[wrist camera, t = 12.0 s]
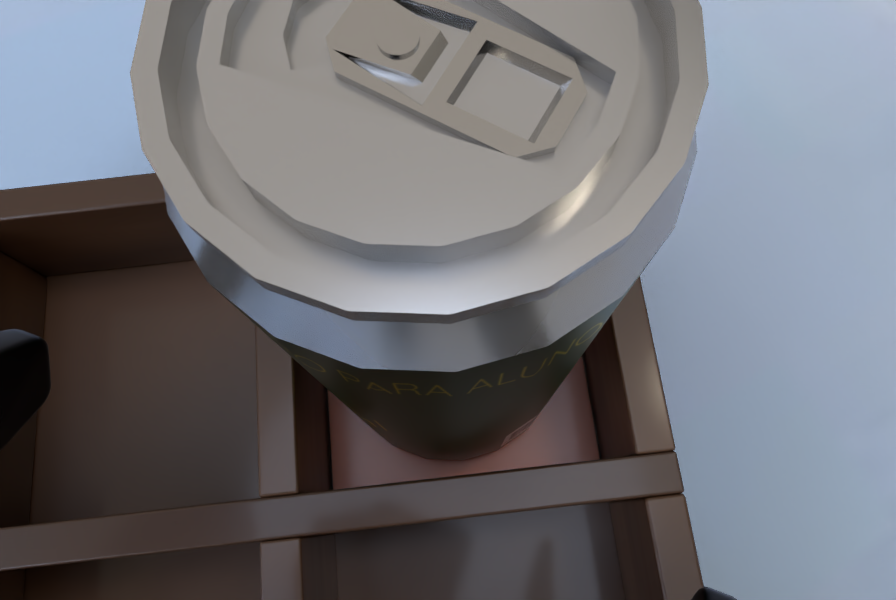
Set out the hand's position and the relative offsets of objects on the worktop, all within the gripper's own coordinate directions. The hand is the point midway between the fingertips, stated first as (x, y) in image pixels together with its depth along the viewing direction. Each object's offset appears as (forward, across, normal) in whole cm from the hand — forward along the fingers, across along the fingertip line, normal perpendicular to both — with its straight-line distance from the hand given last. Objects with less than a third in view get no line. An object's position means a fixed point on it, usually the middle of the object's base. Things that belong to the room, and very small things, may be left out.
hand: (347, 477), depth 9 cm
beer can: (+8, 0, +3) cm, 9 cm away
